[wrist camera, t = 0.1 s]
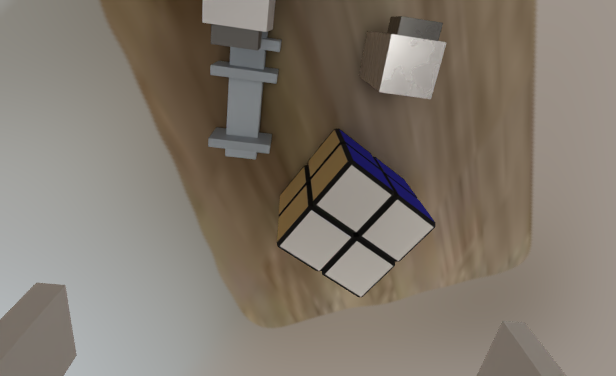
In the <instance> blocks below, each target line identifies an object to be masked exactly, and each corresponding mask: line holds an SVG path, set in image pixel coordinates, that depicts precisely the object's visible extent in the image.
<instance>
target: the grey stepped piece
mask: <svg viewBox="0 0 616 376" xmlns="http://www.w3.org/2000/svg"><path fill="white" fill-rule="evenodd" d="M274 11H275V0H203V14H202V22H203V23H209V24H211V44H216V45H223V46H230V62H225V61H217V62H215V63H214V64H212V65H211V73H210V75H216V76H223V77H229V88H228V108H227V128H219V127H216V128H215V130H214V131H213V133H212V134H211V135H210V137H209V141H208V147H217V148H225V156H230V157H239V158H247V159H256V157H257V152H259V153H268V154H269V152H270V146H271V139H272V134H268V133H259V129H260V118H261V106H262V95H263V84H264V82H267V83H274V84H276V83H277V79H278V70H279V69H275V68H268V67H265V61H266V50H269V51H276V52H280V49H281V41H282V40H280V39H273V38H268V31H270V30H273V22H274Z"/></svg>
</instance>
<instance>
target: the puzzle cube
mask: <svg viewBox="0 0 616 376" xmlns="http://www.w3.org/2000/svg"><path fill="white" fill-rule="evenodd" d="M308 164H309V166H304V167H303V168H302V169H301V171H300V172H299V173H298V174H297V176H296V177H295V178H294V179H293V180H292V182H291V183H290V184H289V185H288V187H287V188H286V189H285V190H284V191H283V193H282V194H281V195H280V202H279V220H278V234H277V246H278V247H279V248H281V249H282V250H284V251H285V252H287V253H289V254H290V255H292V256H293V257H295V258H297V259H298V260H300V261H301V262H303V263H305V264H306V265H308V266H309V267H311V268H313V269H314V270H316V271H322V275H324V276H326V277H327V278H329V279H330V280H332V281H334V282H335V283H337V284H338V285H340V286H342V287H343V288H345V289H346V290H348V291H349V292H351V293H353V294H354V295H356V296H357V297H363V296H364V295H365V294H366V293H367V292H368V291H369V290H370V289H371V288H372V287H373V286H374V285H375V284H376V283H377V282H378V281H379V280H381V279H382V278H383V277H384V276H385V275H386V274H387V273H388V272H389V271H390V270H391V269H392V268H393V267H394V266H395V262H396V261H401V260H402V259H403V258H404V257H405V256H406V255H407V254H408V253H409V252H410V251H411V250H412V249H413V248H414V247H415V246H416V245H417V244H418V243H419V242H420V241H421V240H422V239H423V238H425V237H426V236H427V235H428V234H429V233H430V232H431V231H432V230H433V229H434V228H435V222H434V220H433V219H432V217H431V216H430V215H429V213H428V212H427V211H426V209H425V208H424V206H423V205H422V204H421V202H420V201H419V200H418V199H417V197H416V195H415V194H414V193H413V191H412V190H411V188H410V187H409V186H408V184H407V183H406V181H405V180H404V179H403V178H401V177H400V176H399V175H397V174H396V173H395V172H394V171H392V170H391V169H390V168H389V167H387V166H386V165H385V164H383V163H382V162H381V161H380V160H378V159H377V158H376V157H372V155H371V153H369V152H368V151H367V150H365V149H364V148H363V147H362V146H360V145H359V144H358V143H357V142H355V141H354V140H353V139H351V138H350V137H349V136H348V135H346V134H345V133H344V132H342V131H341V130H340V129H334V131H333V132H332V133H331V134H330V135H329V137H328V138H327V139H326V140H325V142H324V143H323V144H322V145H321V146H320V148H319V149H318V150H317V151H316V153H315V154H314V155H313V156H312V157H311V159H310V160H309V161H308Z"/></svg>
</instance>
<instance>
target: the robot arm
mask: <svg viewBox="0 0 616 376" xmlns="http://www.w3.org/2000/svg"><path fill="white" fill-rule="evenodd" d="M75 357H76V350H75V343H74V337H73V331H72V325H71V318H70V312H69V306H68V299H67V293H66V287H65V285H57V284H45V283H36V284H35V285H34V286H33V287H32V288H31V289H30V290H29V291H28V292H27V293H26V294H25V295H24V296H23V297H22V298H21V299H20V300H19V301H18V302H17V303H16V304H15V305H14V306H13V307H12V308H11V309H10V310H9V311H8V312H7V313H6V314H5V315H4V316H3V317H2V318H1V320H0V376H64V374H65V373H66V371H67V369H68V368H69V366H70V365H71V363H72V361H73V360H74V359H75ZM477 376H566V374H565V373H564V372H563V371H562V369H561V368H560V367H559V366H558V364H557V363H556V362H555V361H554V359H553V358H552V357H551V355H550V354H549V353H548V351H547V350H546V349H545V348H544V346H543V345H542V344H541V342H540V341H539V340H538V339H537V337H536V336H535V335H534V333H533V332H532V331H531V329H530V328H529V327H528V326H527V325H526V323H524V322H511V321H502V323H501V325H500V327H499V329H498V332H497V334H496V336H495V338H494V340H493V342H492V344H491V346H490V349H489V351H488V353H487V355H486V357H485V359H484V361H483V364H482V365H481V368H480V370H479V372H478V374H477Z"/></svg>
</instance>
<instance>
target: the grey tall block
mask: <svg viewBox="0 0 616 376" xmlns="http://www.w3.org/2000/svg"><path fill="white" fill-rule="evenodd" d="M442 24H443V23H440V22H434V21H427V20H421V19H415V18H409V17H402V16H399V17H391V18H390V23H389V28H388V32H387V33H378V32H370V31H367V34H366V39H365V45H364V50H363V55H362V61H361V66H360V71H359V76H360V77H361V78H362V79H363V80H365V81H366V82H367V83H368V84H370V85H371V86H372V87H373V88H375V89H376V90H377V91H378V92H382V93H390V94H397V95H404V96H411V97H419V98H426V99H431V97H432V93H433V90H434V86H435V82H436V79H437V75H438V71H439V68H440V64H441V60H442V57H443V53H444V49H445V46H446V42H440V41H438V40H439V36H440V32H441V28H442Z"/></svg>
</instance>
